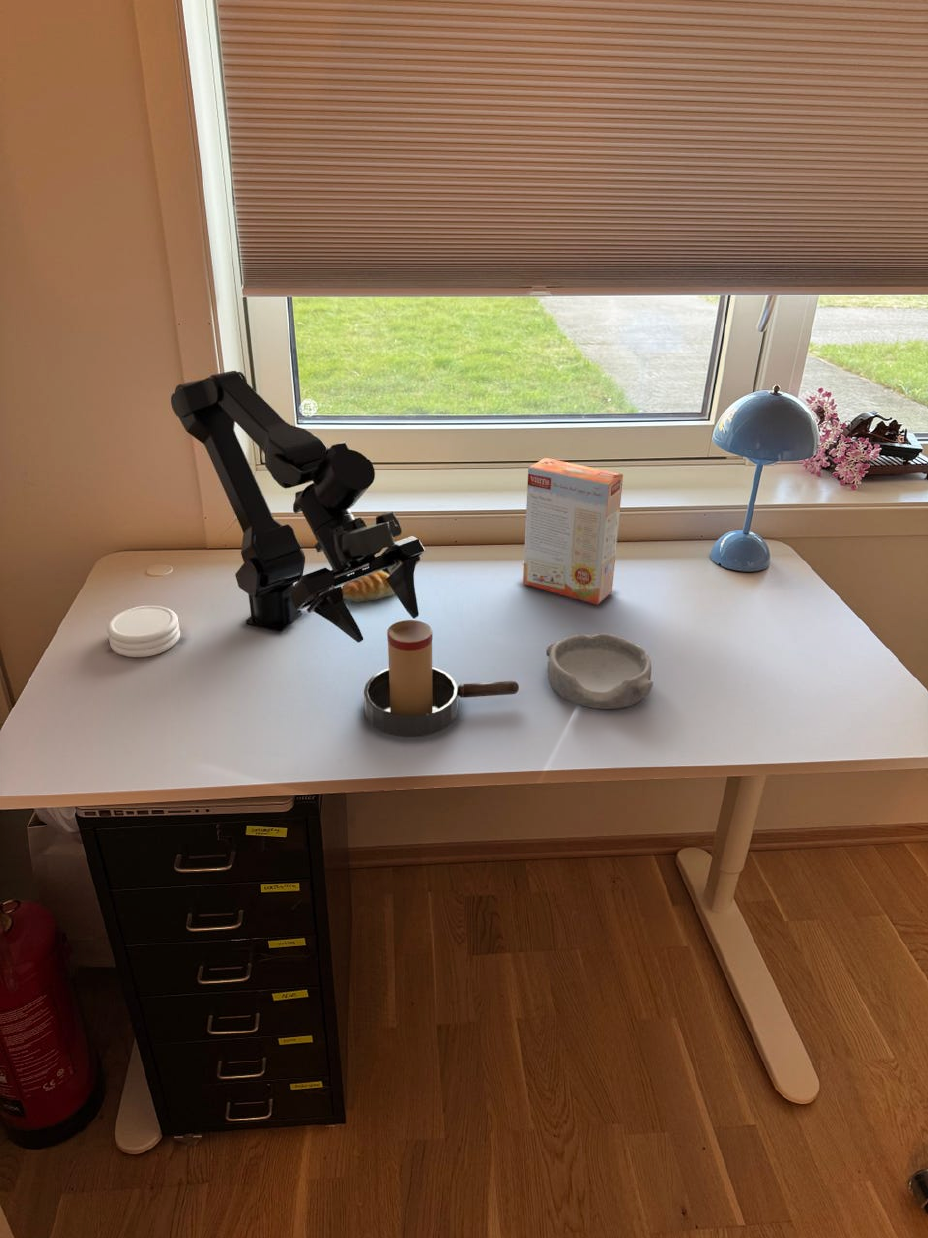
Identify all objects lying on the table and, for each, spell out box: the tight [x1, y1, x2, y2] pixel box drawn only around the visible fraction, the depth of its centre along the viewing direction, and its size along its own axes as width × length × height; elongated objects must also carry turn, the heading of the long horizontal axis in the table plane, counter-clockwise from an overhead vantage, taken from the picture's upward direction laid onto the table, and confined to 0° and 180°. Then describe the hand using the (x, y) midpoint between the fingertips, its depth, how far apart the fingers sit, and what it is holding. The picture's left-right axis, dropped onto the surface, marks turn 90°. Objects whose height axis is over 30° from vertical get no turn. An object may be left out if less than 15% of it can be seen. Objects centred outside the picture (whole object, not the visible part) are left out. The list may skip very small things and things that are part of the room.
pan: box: [363, 666, 459, 738], centre depth 123 cm, size 12×12×4 cm
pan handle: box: [457, 680, 520, 699], centre depth 123 cm, size 8×2×2 cm, turn 98°
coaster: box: [106, 605, 181, 658], centre depth 137 cm, size 10×10×4 cm
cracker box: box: [522, 457, 624, 606], centre depth 149 cm, size 14×6×21 cm, turn 58°
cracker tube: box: [386, 619, 433, 715], centre depth 120 cm, size 6×6×12 cm
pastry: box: [341, 570, 396, 603], centre depth 151 cm, size 9×7×4 cm
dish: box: [545, 632, 654, 710], centre depth 128 cm, size 14×14×5 cm
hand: (389, 629), depth 121 cm, fingers open, 9 cm apart
